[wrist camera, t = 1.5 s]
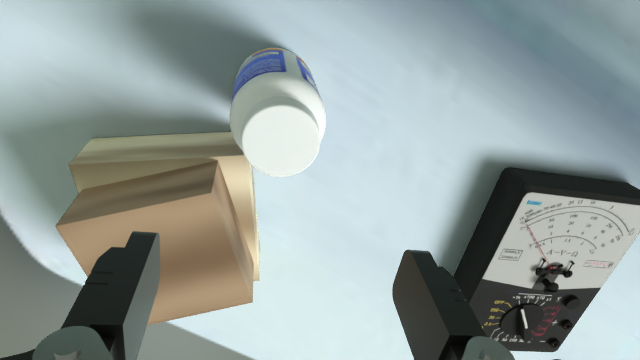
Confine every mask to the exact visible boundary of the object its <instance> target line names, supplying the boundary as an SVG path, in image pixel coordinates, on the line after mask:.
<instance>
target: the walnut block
mask: <svg viewBox="0 0 640 360" xmlns="http://www.w3.org/2000/svg"><path fill="white" fill-rule="evenodd" d="M55 227H56V228H57V230H58V231H59V233H60V235H61V236H62V238H63V239H64V241H65V242H66V244H67V246H68V247H69V249H70V250H71V252H72V253H73V255H74V256H75V258H76V260H77V261H78V263H79V264H80V266H81V267H82V269H83V270H84V272H85V274H86V275H87V277H88V276H89V274H91V270H92V269H93V267H94V265H95V263H96V261H97V259H98V258H99V257H100V256H101V255H102V254H103V253H105V252H106V251H107V250H108V249H110V248H111V247H124V248H125V246H126V244H127V241H128V239H129V237H130V235H131V233H132V232H133V231H140V232H155V233H159V236H160V280H159V286H158V290H157V294H156V297H155V300H154V304H153V307H152V310H151V313H150V317H149V320H148V323H147V325H150V324H155V323H160V322H164V321H169V320H174V319H178V318H183V317H187V316H192V315H197V314H201V313H206V312H210V311H215V310H220V309H224V308H229V307H233V306H238V305H242V304H247V303H252V301H253V271H254V262H253V259H252V256H251V253H250V251H249V248H248V245H247V242H246V239H245V236H244V233H243V231H242V228H241V225H240V222H239V219H238V216H237V213H236V210H235V208H234V205H233V202H232V199H231V196H230V193H229V190H228V187H227V185H226V182H225V179H224V176H223V173H222V170H221V167H220V165H219V162H218V161H214V162H209V163H204V164H200V165H195V166H190V167H186V168H181V169H176V170H172V171H167V172H162V173H158V174H153V175H148V176H144V177H139V178H134V179H129V180H125V181H120V182H115V183H111V184H106V185H101V186H97V187H92V188H87V189H83V190H81V192H80V193H79V194H78V196H77V197H76V199H75V200H74V201H73V203H72V204H71V205H70V207H69V208H68V210H67V211H66V212H65V214H64V215H63V216H62V218H61V219H60V220H59V222H58V223H57V225H56V226H55Z"/></svg>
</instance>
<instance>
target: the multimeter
mask: <svg viewBox="0 0 640 360" xmlns="http://www.w3.org/2000/svg"><path fill="white" fill-rule="evenodd" d="M639 233H640V190H639V189H637V188H636V187H634V186H632V185H630V184H628V183H621V182H614V181H606V180H599V179H591V178H584V177H576V176H569V175H561V174H554V173H546V172H539V171H531V170H524V169H516V168H505V169H504V170H503V172H502V173H501V175H500V177H499V180H498V182H497V184H496V186H495V188H494V190H493V193H492V195H491V197H490V199H489V201H488V203H487V206H486V208H485V210H484V212H483V214H482V216H481V219H480V221H479V223H478V225H477V227H476V229H475V232H474V234H473V236H472V238H471V240H470V242H469V245H468V247H467V249H466V251H465V253H464V255H463V257H462V260H461V262H460V264H459V266H458V268H457V270H456V273H455V275H454V278H455V280H456V282H457V284H458V285H459V287H460V289H461V292H462V293H463V294H464V296H465V298H466V302H468V303H469V305H470V307H471V309H472V311H473V312H474V314H475V316H476V318H477V319H478V321H479V323H480V325H481V327H482V328H483V330H484V332H485V334H486V336H487V337H488V338H491V339H493V340H496V341H497V342H499V343H501V344H502V345H503V346H504V347H506V348H507V349H508V350H509V351H535V352H555V351H556V350H558V348H559V347H560V346H561V344H562V343H563V341H564V340H565V338H566V337H567V336H568V334H569V333H570V331H571V330H572V328H573V327H574V326H575V324H576V323H577V321H578V320H579V318H580V317H581V316H582V314H583V313H584V311H585V310H586V308H587V307H588V306H589V304H590V303H591V301H592V300H593V298H594V297H595V296H596V294H597V293H598V291H599V290H600V288H601V287H602V286H603V284H604V283H605V281H606V280H607V278H608V277H609V276H610V274H611V273H612V271H613V270H614V268H615V267H616V266H617V264H618V263H619V261H620V260H621V258H622V257H623V256H624V254H625V253H626V251H627V250H628V248H629V247H630V246H631V244H632V243H633V241H634V240H635V238H636V237H637V235H638V234H639Z"/></svg>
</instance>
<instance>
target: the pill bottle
mask: <svg viewBox="0 0 640 360" xmlns="http://www.w3.org/2000/svg"><path fill="white" fill-rule="evenodd" d="M325 127H326V113H325V108H324V105H323V102H322V99H321V97H320V94H319V92H318V89H317V87H316V84H315V82H314V79H313V77H312V74H311V72H310V70H309V68H308V67H307V65H306V64H305V63H304V62H303V60H302V59H300V58H299V57H298V56H297V55H295V54H294V53H292V52H290V51H288V50H285V49H281V48H266V49H262V50H259V51H257V52H255V53H253V54H252V55H250V56H249V57H248V58H247V59H246V60H245V61H244V62H243V63H242V65H241V66H240V68H239V70H238V73H237V76H236V80H235V85H234V91H233V97H232V103H231V109H230V128H231V132H232V135H233V137H234V140H235V141H236V143H237V145H238V146H239V147H240V149H241V150H242V151H243V153H244V155H245V157H246V159H247V160H248V162H249V163H250V164H251V165H252V166H253V167H254V168H255V169H257V170H258V171H260V172H262V173H264V174H266V175H270V176H275V177H285V176H291V175H294V174H297V173H299V172H301V171H303V170H304V169H306V168H307V167H308V166H309V165H310V164H311V163H312V162H313V160H314V159H315V157H316V155H317V153H318V151H319V147H320V141H321V139H322V137H323V135H324V131H325Z"/></svg>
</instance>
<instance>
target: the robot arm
mask: <svg viewBox="0 0 640 360" xmlns="http://www.w3.org/2000/svg"><path fill="white" fill-rule="evenodd" d="M159 280H160V236H159V233H155V232H140V231H133V232H132V233H131V235H130V237H129V239H128V241H127V244H126V246H125V248H124V247H111V248H110V249H108V250H107V251H106V252H105V253H103V254H102V255H101V256H100V257H99V258H98V259H97V261H96V263H95V265H94V267H93V269H92V270H91V274H89V276H88V278H87V280H86V282H85V285H84V286H83V288H82V290H81V291H80V293H79V295H78V297H77V299H76V301H75V303H74V305H73V307H72V308H71V310H70V312H69V315H68V316H67V318H66V320H65V322H64V324H63V326H62V327H61V329H60V330H58V331H55V332H53V333H52V334H50V335H49V336H47V337H46V338H44V339H43V340H42V341H41V342H40V343H39V344H38V346H37V347H36V349H33V350H31V351H28V352H25V353H21V354H18V355H13V356H9V357H5V358H1V359H0V360H136V359H137V356H138V352H139V349H140V346H141V343H142V339H143V336H144V333H145V330H146V326H147V323H148V320H149V317H150V313H151V310H152V307H153V304H154V300H155V297H156V294H157V290H158V286H159ZM393 301H394V304H395V307H396V309H397V312H398V315H399V318H400V321H401V323H402V326H403V329H404V332H405V335H406V337H407V340H408V343H409V346H410V349H411V352H412V354H413V357H414V360H515V359H514V357H513V355H512V354H511V353H510V351H509V350H508V349H507V348H506V347H504V346H503V345H502V344H501V343H499V342H497V341H496V340H493V339H491V338H488V337H487V336H486V334H485V332H484V330H483V328H482V327H481V325H480V323H479V321H478V319H477V318H476V316H475V314H474V312H473V311H472V309H471V307H470V305H469V303H468V302H466V298H465V296H464V294H463V293H462V292H461V289H460V287H459V285H458V284H457V282H456V280H455V278H454V277H453V276H452V275H451V274H450V273H449V272H448V271H446V270H445V269H444V268H443V267H437V265H436V263H435V261H434V259H433V257H432V255H431V253H430V252H428V251H418V250H406V251H405V252H404V254H403V257H402V260H401V263H400V266H399V268H398V271H397V274H396V277H395V280H394V283H393ZM554 360H559V359H554Z"/></svg>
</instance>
